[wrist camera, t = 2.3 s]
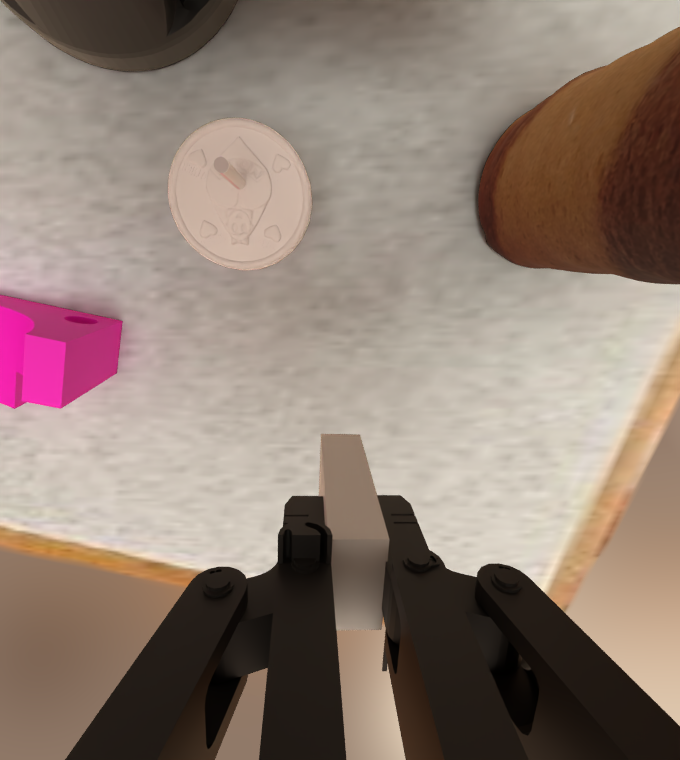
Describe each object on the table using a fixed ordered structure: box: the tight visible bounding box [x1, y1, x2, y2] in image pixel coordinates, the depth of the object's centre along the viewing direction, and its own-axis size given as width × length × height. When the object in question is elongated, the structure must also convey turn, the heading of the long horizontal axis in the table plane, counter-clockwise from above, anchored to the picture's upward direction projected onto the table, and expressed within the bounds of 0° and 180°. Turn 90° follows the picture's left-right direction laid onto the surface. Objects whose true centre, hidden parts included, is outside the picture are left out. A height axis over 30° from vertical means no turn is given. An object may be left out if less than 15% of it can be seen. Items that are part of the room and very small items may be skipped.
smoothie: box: [168, 118, 312, 270], centre depth 22 cm, size 6×6×14 cm
